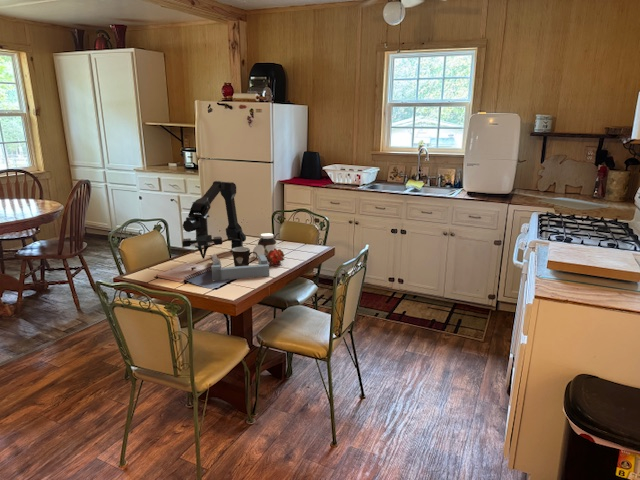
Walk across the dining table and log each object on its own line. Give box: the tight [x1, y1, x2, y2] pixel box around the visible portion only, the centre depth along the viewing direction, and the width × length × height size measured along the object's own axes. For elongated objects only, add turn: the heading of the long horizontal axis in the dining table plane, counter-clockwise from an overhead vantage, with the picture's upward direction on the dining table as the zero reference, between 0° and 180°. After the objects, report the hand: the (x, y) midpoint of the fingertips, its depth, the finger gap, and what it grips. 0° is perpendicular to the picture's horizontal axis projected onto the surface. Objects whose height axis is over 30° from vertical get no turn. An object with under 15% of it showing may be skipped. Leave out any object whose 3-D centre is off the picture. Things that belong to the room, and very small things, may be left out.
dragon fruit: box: [266, 248, 286, 266], centre depth 227 cm, size 8×8×12 cm
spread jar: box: [252, 232, 278, 259], centre depth 240 cm, size 12×11×12 cm
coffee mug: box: [231, 246, 258, 267], centre depth 218 cm, size 12×9×10 cm
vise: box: [211, 255, 270, 281], centre depth 212 cm, size 14×26×6 cm, turn 106°
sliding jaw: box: [210, 253, 222, 266], centre depth 218 cm, size 25×4×6 cm, turn 16°
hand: (203, 258), depth 221 cm, fingers closed
